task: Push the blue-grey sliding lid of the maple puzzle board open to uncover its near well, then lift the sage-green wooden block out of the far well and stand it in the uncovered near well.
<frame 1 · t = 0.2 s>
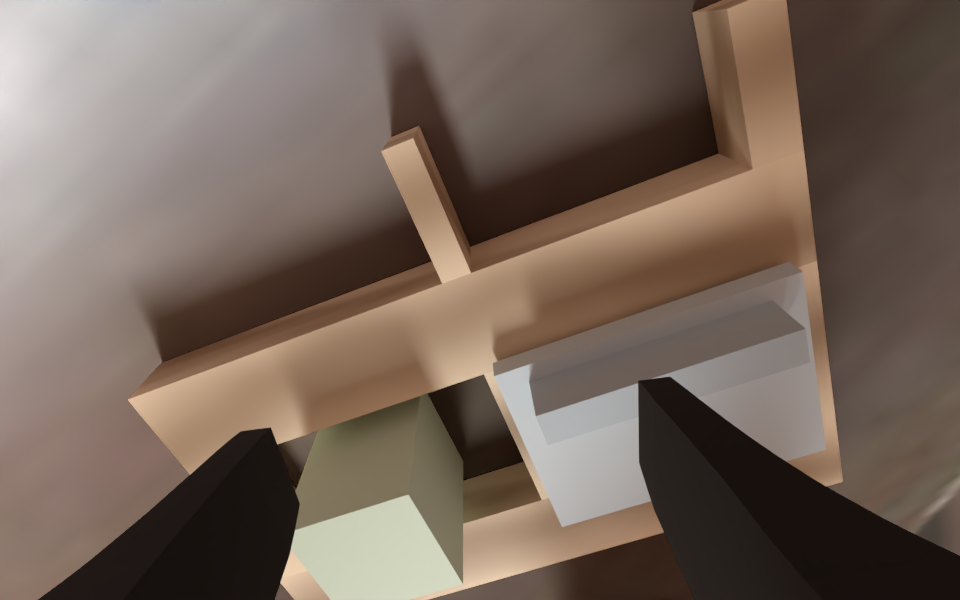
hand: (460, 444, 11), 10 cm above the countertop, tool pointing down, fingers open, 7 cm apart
puzzle board: (504, 404, 23), on the countertop
lid: (673, 424, 18), point 4 cm above the countertop, slide at 0.0 cm
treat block: (395, 439, 23), resting in puzzle board
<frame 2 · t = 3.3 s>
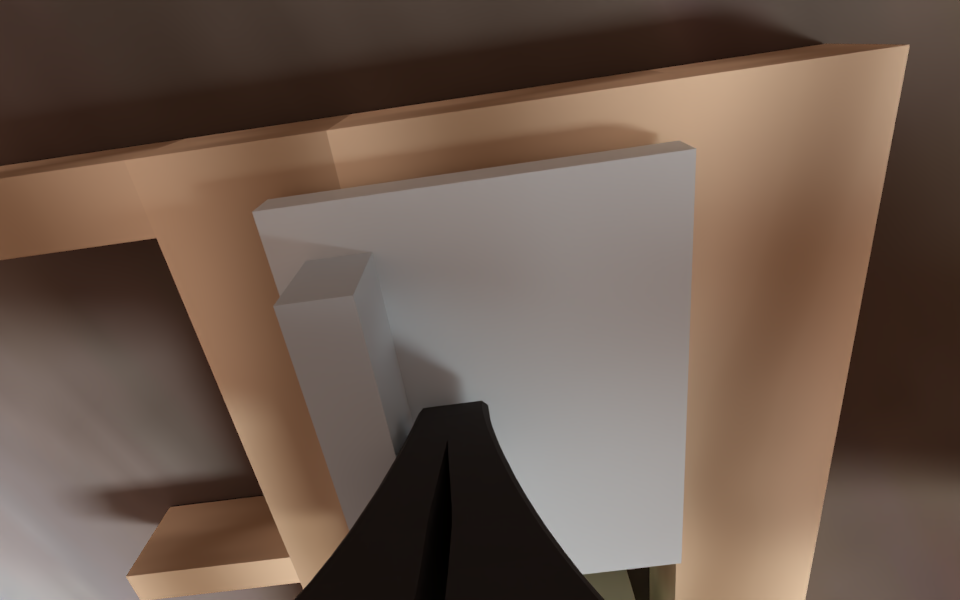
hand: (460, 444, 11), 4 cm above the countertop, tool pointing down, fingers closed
puzzle board: (544, 492, 17), on the countertop
lid: (506, 435, 11), point 4 cm above the countertop, slide at 0.8 cm, touching gripper
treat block: (556, 595, 19), resting in puzzle board
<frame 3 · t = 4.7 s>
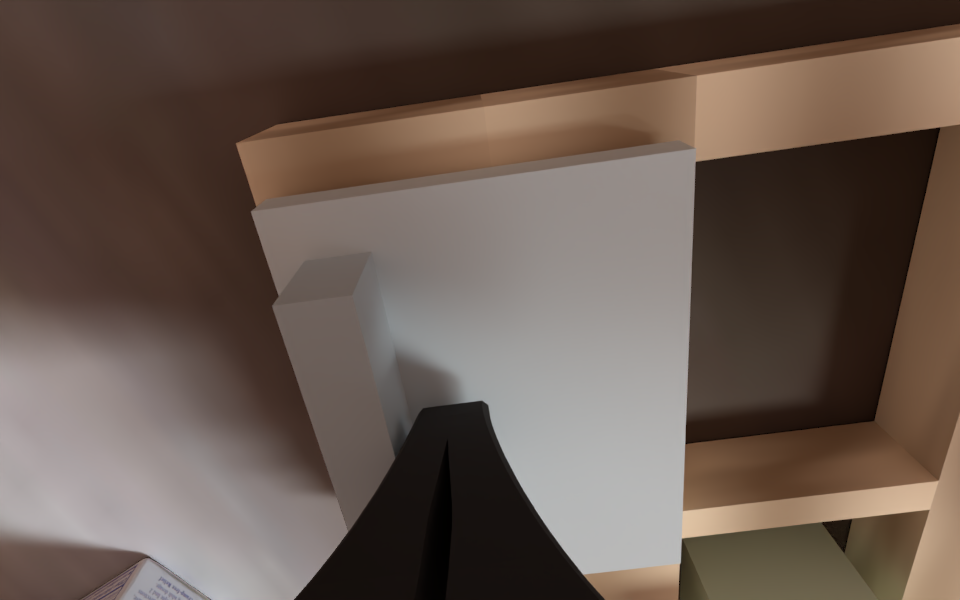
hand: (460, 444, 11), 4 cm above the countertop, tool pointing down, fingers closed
puzzle board: (758, 466, 17), on the countertop
lid: (506, 435, 11), point 4 cm above the countertop, slide at 7.4 cm, touching gripper
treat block: (745, 574, 19), resting in puzzle board
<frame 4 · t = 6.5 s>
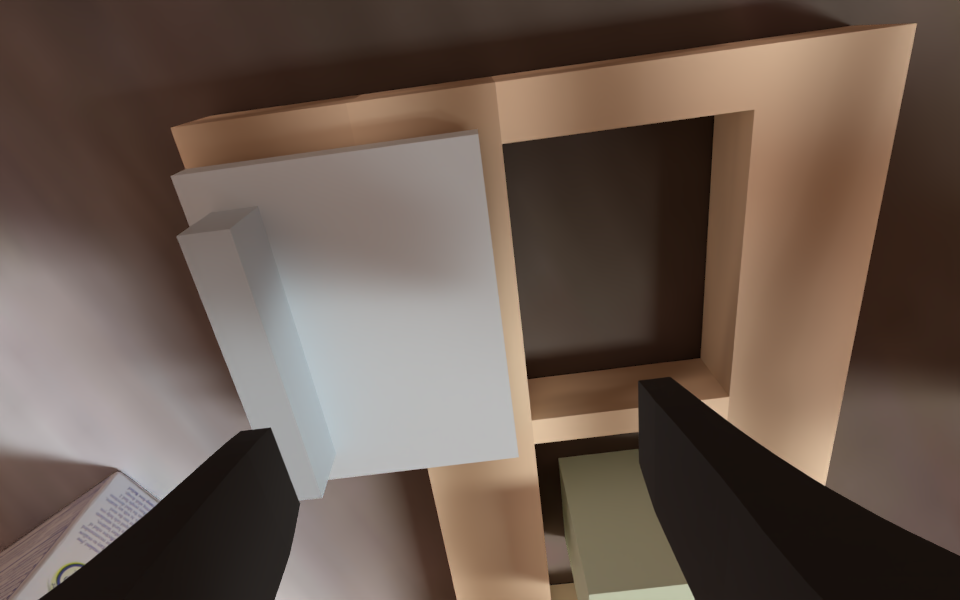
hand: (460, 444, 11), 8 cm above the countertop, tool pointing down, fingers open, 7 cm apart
medicine box: (102, 535, 23), on the countertop
puzzle board: (612, 396, 21), on the countertop
lid: (365, 344, 15), point 4 cm above the countertop, slide at 7.6 cm
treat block: (614, 492, 23), resting in puzzle board
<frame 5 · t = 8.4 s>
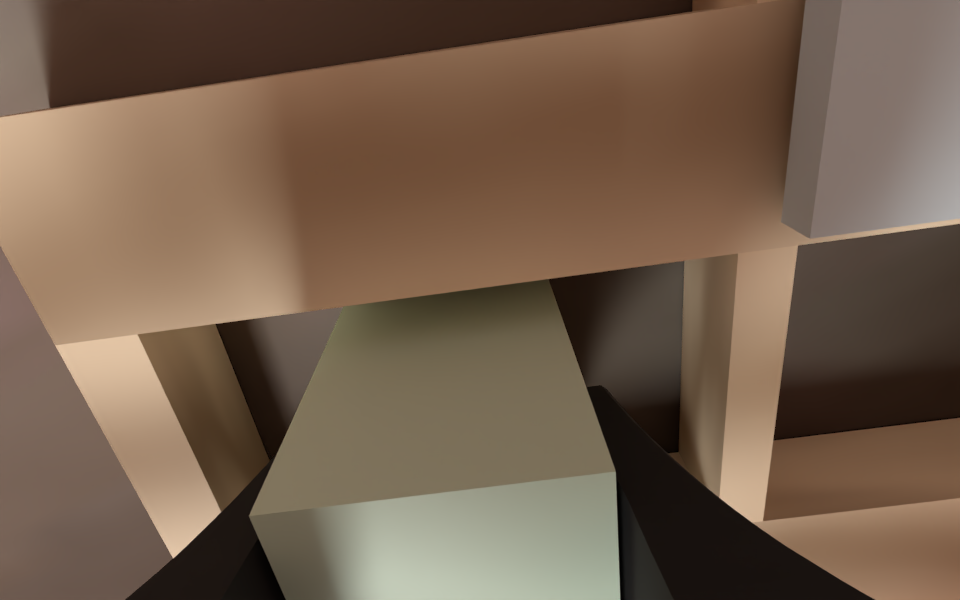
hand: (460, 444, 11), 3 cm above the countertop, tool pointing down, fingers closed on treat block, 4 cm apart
puzzle board: (671, 346, 13), on the countertop
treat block: (460, 373, 13), resting in puzzle board, touching gripper
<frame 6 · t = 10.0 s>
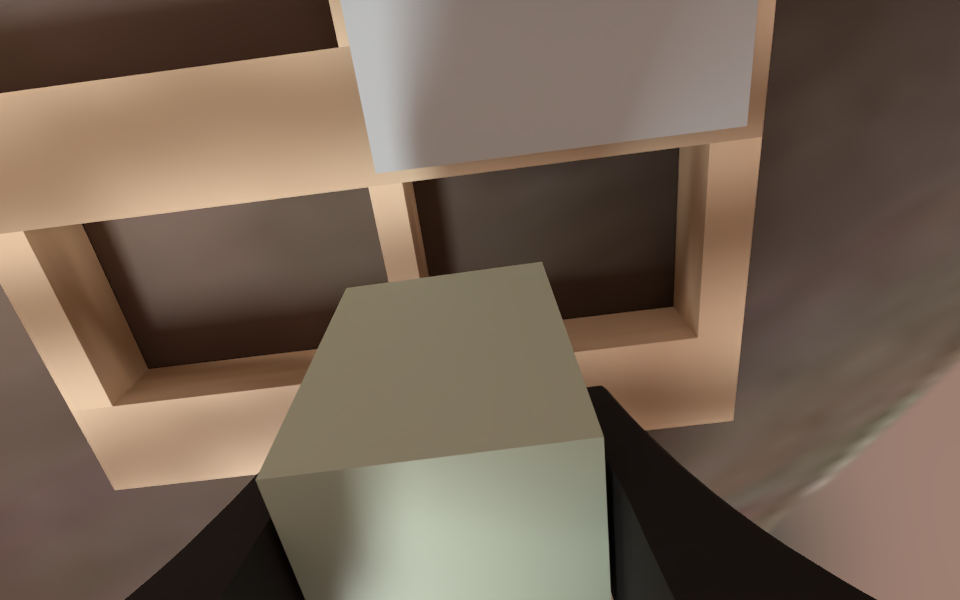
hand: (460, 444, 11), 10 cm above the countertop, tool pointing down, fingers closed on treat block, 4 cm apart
puzzle board: (391, 260, 20), on the countertop
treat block: (458, 358, 13), point 7 cm above the countertop, touching gripper
when the fingers open (4 cm above the countertop, at t = 11.9 s): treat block stays where it is, resting in puzzle board.
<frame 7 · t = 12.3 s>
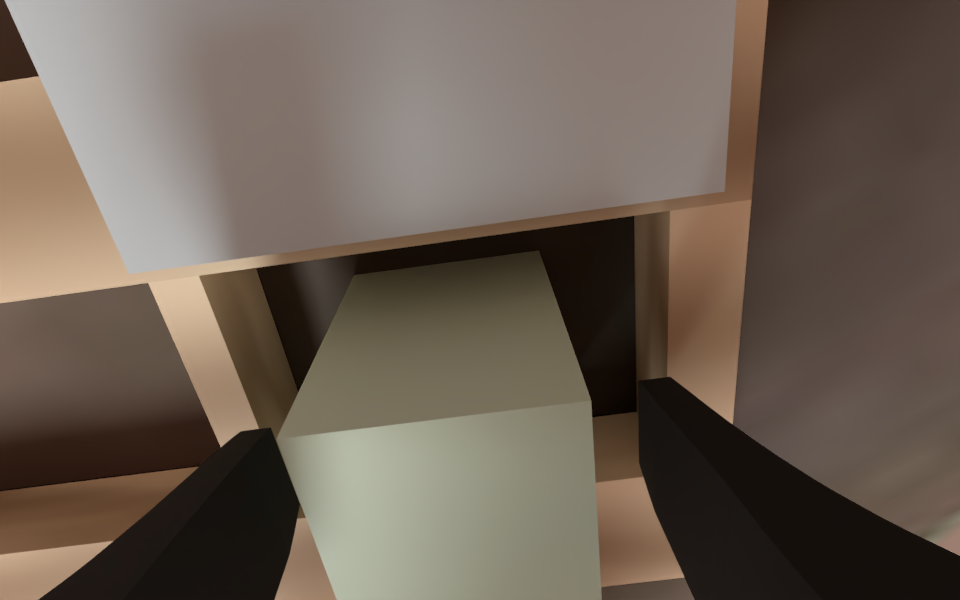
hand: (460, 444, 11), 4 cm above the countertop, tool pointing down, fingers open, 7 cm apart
puzzle board: (237, 360, 14), on the countertop
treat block: (459, 342, 14), resting in puzzle board
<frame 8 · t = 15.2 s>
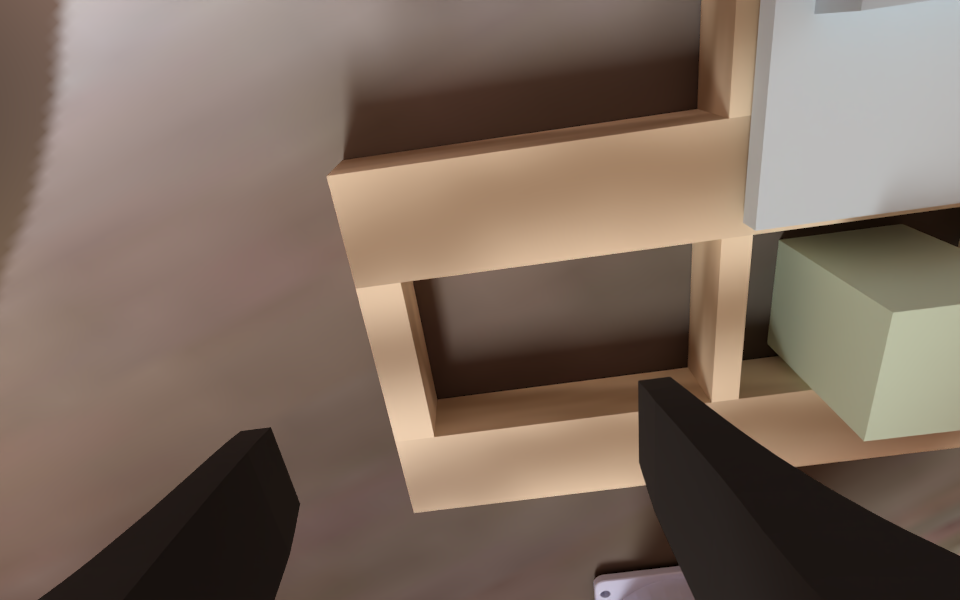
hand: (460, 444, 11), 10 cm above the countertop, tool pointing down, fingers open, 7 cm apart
puzzle board: (683, 298, 21), on the countertop
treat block: (830, 286, 21), resting in puzzle board
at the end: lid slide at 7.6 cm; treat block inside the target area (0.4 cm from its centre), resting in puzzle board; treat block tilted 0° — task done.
